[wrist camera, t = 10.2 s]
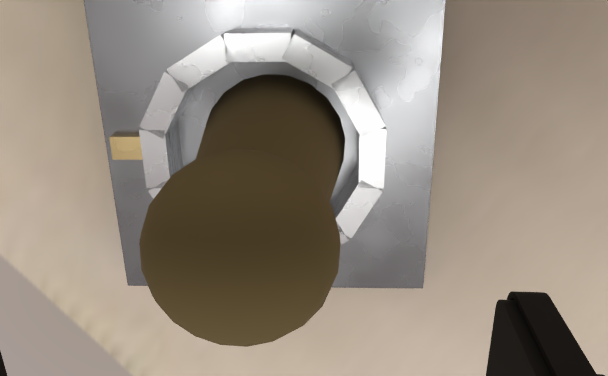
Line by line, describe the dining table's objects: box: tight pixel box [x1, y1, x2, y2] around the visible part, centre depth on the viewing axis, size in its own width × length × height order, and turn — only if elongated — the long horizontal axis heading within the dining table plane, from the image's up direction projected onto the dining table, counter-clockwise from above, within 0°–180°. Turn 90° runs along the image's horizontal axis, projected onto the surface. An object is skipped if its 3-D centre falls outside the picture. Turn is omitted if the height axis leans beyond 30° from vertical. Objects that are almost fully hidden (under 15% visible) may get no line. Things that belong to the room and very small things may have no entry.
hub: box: [84, 0, 445, 288], centre depth 22 cm, size 14×14×3 cm
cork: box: [139, 74, 345, 346], centre depth 18 cm, size 6×6×11 cm
